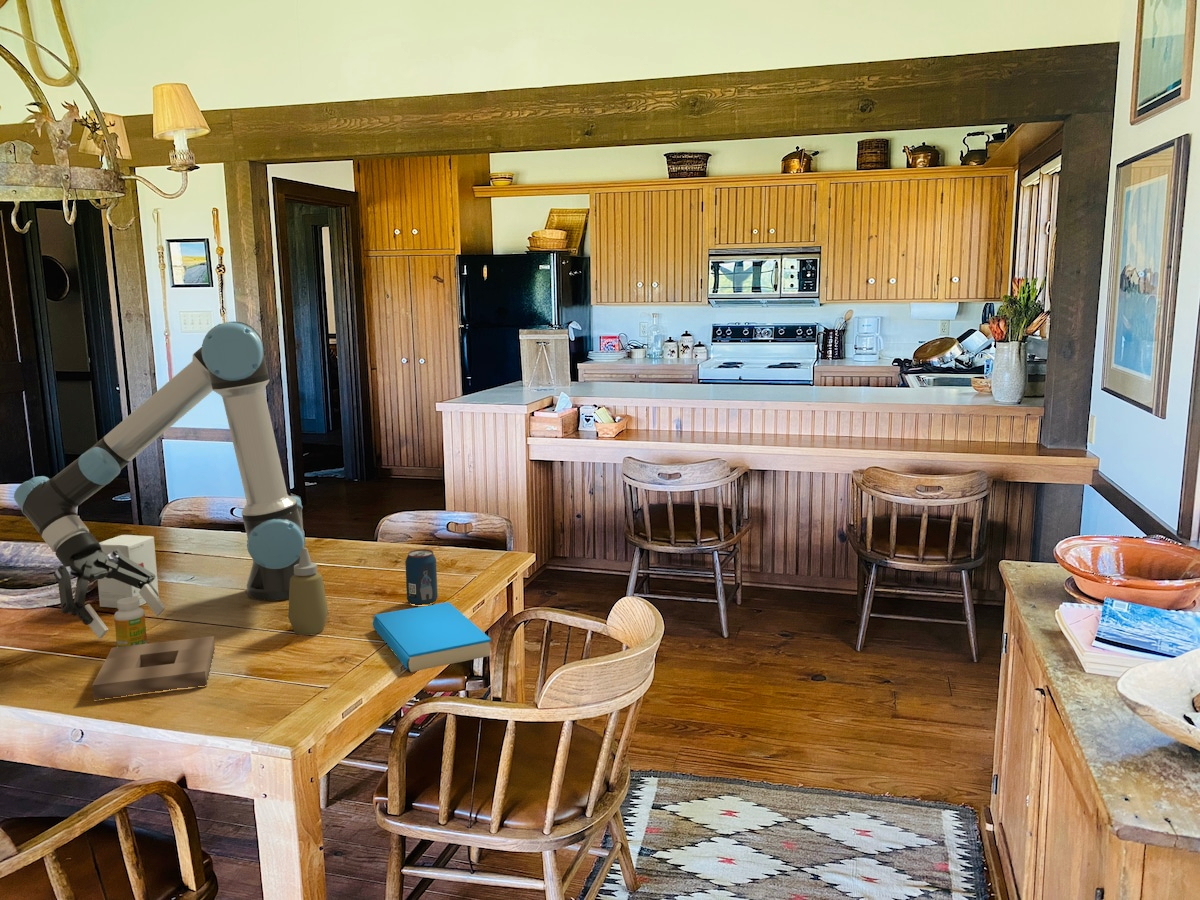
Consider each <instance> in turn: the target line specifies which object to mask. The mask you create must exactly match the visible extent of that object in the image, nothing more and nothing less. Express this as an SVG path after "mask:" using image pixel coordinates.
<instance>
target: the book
mask: <svg viewBox="0 0 1200 900" xmlns="http://www.w3.org/2000/svg"><path fill="white" fill-rule="evenodd" d="M372 626H373V630H374V631H375V630H376V631H377V632H376V631H375V632H376V633H377V635H378V636H379V635H380V636H381V637H382V638H381V637H380V636H379V637H380V638H381V639H382V641H383V640H384V641H385V642H386V643H387V644H386V643H385V642H384V641H383V642H384V643H385V644H386V646H387V647H388V646H389V647H390V648H391V649H392V650H393V652H394V653H395V654H396V655H397V656H396V655H395V654H394V653H393V652H392V653H393V654H394V655H395V656H396V658H397V657H398V658H399V659H400V660H399V659H398V658H397V659H398V660H399V662H400V663H401V662H402V663H401V664H402V665H403V666H404V668H405V669H406V670H407V671H409V672H410V673H413V672H418V671H423V670H428V669H433V668H437V667H442V666H446V665H453V664H457V663H462V662H463V663H464V662H466V661H471V660H472V661H473V660H476V659H483V658H485V657H490V656H491V649H490V648H491V647H490V646H491V645H490V642H492V639H491V637H489V636H488V635H487V633H484V631H482V630H481V628H480V627H478V626H477V625H476V624H475V623H473V622H472V621H471V620H470V619H469V618H468V617H466V616H465V615H464V614H463V613H462V612H461V611H460V610H459V609H458V608H456V607H455V606H454V605H453V604H452V603H450V602H449V601H447V602H440V603H434V604H433V605H428V606H423V607H412V608H406V609H400V610H394V611H389V612H382V613H381V612H380V613H378V614H377V613H376V614H374V618H373V620H372ZM390 648H389V649H390ZM391 649H390V650H391ZM392 650H391V651H392Z"/></svg>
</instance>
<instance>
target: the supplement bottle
mask: <svg viewBox="0 0 1200 900" xmlns="http://www.w3.org/2000/svg"><path fill="white" fill-rule="evenodd" d="M116 609H117V611H116V612H115V613H114V628H115V639H116V647H122V646H131V645H140V644H148V639H147V628H146V617H145V616H146V615H145V610H144V609H143V607H140V602H139V598H137V597H128V598H123V599H120V600H118V601H117V608H116Z"/></svg>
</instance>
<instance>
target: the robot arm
mask: <svg viewBox="0 0 1200 900" xmlns="http://www.w3.org/2000/svg"><path fill="white" fill-rule="evenodd" d="M264 349H265V348H264V343H263V339H262V337H261V336H260V334H259V332H258V331H257V330H256V329H255V328H254V327H253V326H251V325H249V324H247V323H246V322H245V323H244V322H242V321H241V322H240V321H226V322H224V323H219V324H217V325H215V326H213V327H212V328H211V329H210V330H208V332H207V333H206V335H205V336H204V338H203V340H202V344H201V347H200V348H199V349H197V350H196V351H195V352H194V353H192V360H191V362H190V363H189V364H187V365H186V366H185V367H184V368H182V369H181V370H180V371H179V372H178V373H177V374H175V375H174V376H173V377H172V378H171V379H170V380H169V381H168V382H166V383H165V384H164V385H163V386H161V387H160V388H159V389H158V390H157V391H155V393H154V394H152V395H151V396H150V397H149V398H148V399H146V400H145V401H144V402H143V403H142V404H140V405H139V407H137V408H135V410H133V411H132V413H130V414H129V415H128V416H126V417H125V418H124V419H122V421H120V422H119V424H117V425H116V426H115V427H114V428H112V429H111V430H110V431H109V432H108V433H107V434H105V435H104V436H103V437H102V438H101V439H100V440H98V441H96V443H95V444H94V445H93V446H91V447H90V448H89V449H87V450H86V451H85V452H83V453H82V454H81V455H80V456H79V457H78V458H77V459H75V460H73V462H71V463H70V464H69V465H67V466H66V467H65V468H63V469H62V470H61V471H60V472H58V473H57V474H56V475H55V476H53V477H51V478H49V477H48V476H45V475H41V476H34V477H32V478H30V479H28V480H26V481H24V482H22V483H21V484H19V486H18V487H17V488H16V489H15V491H14V494H13V499H14V501H15V503H16V504H17V506H18V507H19V509H20V510H21V512H22V514H23V516H25V517H26V518H27V520H28V521H29V522H30V524H32V526H33V527H34V528H35V530H36V531H37V532H38V534H39V536H40V537H42V539H43V541H44V542H45V543H46V545H47V546H48V547H49V548H50V550H51V551H52V552H54V553H55V557H56V558H57V559H58V560H59V562H60V563H61V565H59V566H58V567H57V569H56V570H55V572H54V573H53V577H54V578H55V580H56V582H57V583H58V593H59V600H60V608H61V609H60V610H61V613H62V614H63V615H68V613H70V615H71V616H73V617H75V616H77V617H78V618H79V620H80V621H81V622H82V624H84V625H85V626H89V627H90V629H91V630H92V632H93V633H94V635H96V637H97V638H98V639H99V640H100V639H103V638H104V636H105V635H106V634H107V633H108V631H109V628H108V626H106V624H105V622H104V621H103V620H102V619H101V617H100V616H99V615H98V614H97V612H96V610H95V609H94V607H92V605H91V604H90V603H88V604H86V605H85V602H86V598H87V597H86V596H87V590H88V584H89V583H92V582H95V581H97V580H98V579H102V578H104V577H106V578H109V579H110V578H113V579H116V580H118V581H121V582H123V583H126V584H129V585H131V586H134V587H136V588H139V589H141V590H140V591H139V593H140V595H141V596H142V597H143V599H144V600H145V601H146V602H147V603H146V604H147V605H148V606H149V608H150V609H151V610H152V611H153V612H154V614H155V615H156V616H157V617H158V616H161V614H163V612H164V611H165V610H166V608H167V606H166V605H165V604H164V603H163V601H162V600H161V599H160V595H159V594H158V593H159V591H158V592H157V591H156V590H155V589H154V587H153V586H152V585H151V582H152V581H153V580H154V579H155V577H156V576H155V574H153V573H151V572H150V571H148V570H147V569H145V568H143V567H142V566H140V565H138V564H137V563H135V562H134V561H132V560H130V559H129V558H127V557H125V556H124V555H123V554H122V553H121V551H120V550H118V549H115V550H114V551H113V553H111V554H108V555H107V554H105V553H103V552H102V550H101V546H100V544H99V543H100V542H99V541H98V540H97V539H96V537H95V536H94V535H93V533H91V532H90V529H89V528H88V526H86V524H85V523H84V521H82V519H81V518H80V516H79V515H78V514H77V512H75V509H76V508H78V507H79V506H80V505H81V504H82V503H84V502H85V501H86V500H88V499H89V498H90V497H92V496H93V495H94V494H96V493H97V492H98V491H100V490H101V489H102V488H104V487H105V486H106V485H109V484H110V483H111V482H112V481H114V479H115V478H117V477H118V476H119V475H120V473H121V472H122V471H121V470H123V468H125V467H126V466H127V465H128V464H129V463H130V462H131V461H133V460H134V459H135V458H136V457H138V455H140V454H141V453H142V452H143V451H144V450H145V449H146V448H148V446H150V445H151V444H152V443H153V442H155V441H156V440H157V439H158V438H160V436H162V435H163V434H164V433H165V432H166V431H168V430H169V429H170V428H171V427H172V426H174V425H175V424H176V423H177V422H178V421H179V420H180V419H182V418H183V417H184V416H185V415H186V414H187V413H188V412H190V411H191V410H192V409H193V408H194V407H196V405H197V404H199V403H200V402H201V401H202V400H204V399H205V398H207V396H209V395H210V394H211V393H212V392H214V393H216V394H218V395H219V396H221V398H222V402H223V406H224V410H225V414H226V419H227V423H228V428H229V431H230V435H231V440H232V444H233V450H234V453H235V457H236V462H237V466H238V471H239V474H240V475H239V476H240V480H241V483H242V487H243V491H244V495H245V500H246V505H245V506H244V507H243V509H242V511H241V517H242V521H243V525H244V529H245V530H244V531H245V532H246V539H247V540H246V548H247V552H248V553H249V556H250V557H251V559H252V564H251V567H250V572H249V576H248V579H247V584H246V594H247V597H249V598H251V599H253V600H258V601H267V602H268V601H270V602H271V601H282V600H283V601H284V600H289V588H290V578H291V577H292V576H293V575H295V574H294V566H295V565H296V564H299V561H300V554H301V549H302V548H305V546H306V537H305V534H304V532H305V531H304V523H303V522H304V521H303V505H302V500H301V498H300V497H299V496H296V495H289V494H288V491H287V487H286V481H285V477H284V473H283V470H282V469H283V468H282V464H281V458H280V454H279V452H278V445H277V442H276V436H275V432H274V427H273V423H272V419H271V413H270V410H269V406H268V401H267V397H266V393H265V392H266V391H265V388H266V387H267V385H268V384H269V383H270V381H271V380H270V376H269V370H268V366H267V362H266V357H265V352H264ZM109 568H111V569H112V570H111V571H110V572H109ZM71 575H72V576H74V577H76V578H77V579H76V584H75V586H76V587H75V594H74V595H73V588H72V580H71ZM140 582H142V583H140ZM158 596H159V597H158Z"/></svg>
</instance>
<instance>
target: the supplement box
mask: <svg viewBox="0 0 1200 900" xmlns="http://www.w3.org/2000/svg"><path fill="white" fill-rule="evenodd" d="M99 544H100V546H101V550H102V552H103V553H105V554H107V555H108V554H111V553H113V551H114V550H115V549H118V550H120V551H121V553H122V554H123V555H124V556H125V557H127V558H129V559H130V560H132V561H134V562H135V563H137V564H138V565H140V566H142V567H143V568H145V569H147V570H148V571H150V572H151V573H153V574H155V576H156V577H155V579H154V580H153V581H152V582H151V585H152V586H153V587H154V589H155V590H156V591H157V592H158V594H159V581H158V572H157V570H158V569H157V558H156V547H155V537H154V536H152V535H136V534H135V535H133V534H121V535H117V536H115V537H113V538H109V539H106V540H103V541H100V542H99ZM111 570H112V569H111V568H109V572H110V571H111ZM140 583H142V582H140ZM97 587H98V588H97V589H98V598H99V599H98V600H99V607H100V608H101V607H102V608H113V609H114V608H115V609H118V608H117V601H118V600H120V599H123V598H128V597H137V598H139V602H140V606H141V607H142V606H143V605H145V604H147V602H146V601H145V600H144V599H143V597H142V596H141V595H140V593H139V591H140V590H141V589H139V588H136V587H134V586H131V585H129V584H126V583H123V582H121V581H118V580H116V579H113V578H110V579H109V578H106V577H104V578H102V579H97ZM158 597H159V598H160V595H159V596H158ZM140 606H139V607H140Z"/></svg>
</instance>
